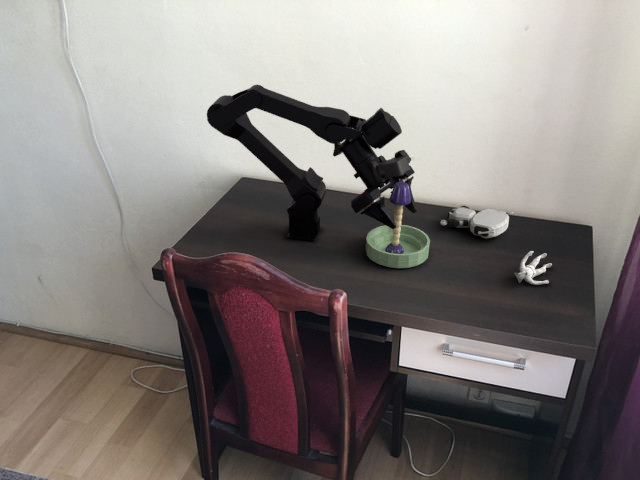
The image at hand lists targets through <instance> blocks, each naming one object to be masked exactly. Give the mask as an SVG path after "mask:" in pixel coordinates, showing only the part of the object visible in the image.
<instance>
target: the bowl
mask: <svg viewBox="0 0 640 480" xmlns="http://www.w3.org/2000/svg"><path fill="white" fill-rule="evenodd" d="M400 227H401V231H400V238H399V244H401V245H402V247H403V249H404V253H403V254H395V253H388V252H385V249H386V247H387V245H388V244H390V243H391V241H392V234H393V229H391V228H390V227H388V226H386V225H384V224H383V225H380V226H377V227H374V228H372V229H371V230H370V231H369V232H368V233H367V236H366V237H365V254H366V256H367V257H368V258H369V260H370V261H372V262H374V263H375V264H378V265H381V266H383V267H387V268H393V269H408V268H412V267H413V268H414V267H417V266H419V265H421V264H423V263H425V262H426V261H427V259H429V254H430V246H431V239H430V236H429V235H428V234H427V233H426V232H425V231H423V230H421V229H419V228H418V227H416V226H415V227H414V226H411V225H406V224H401V226H400Z"/></svg>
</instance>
